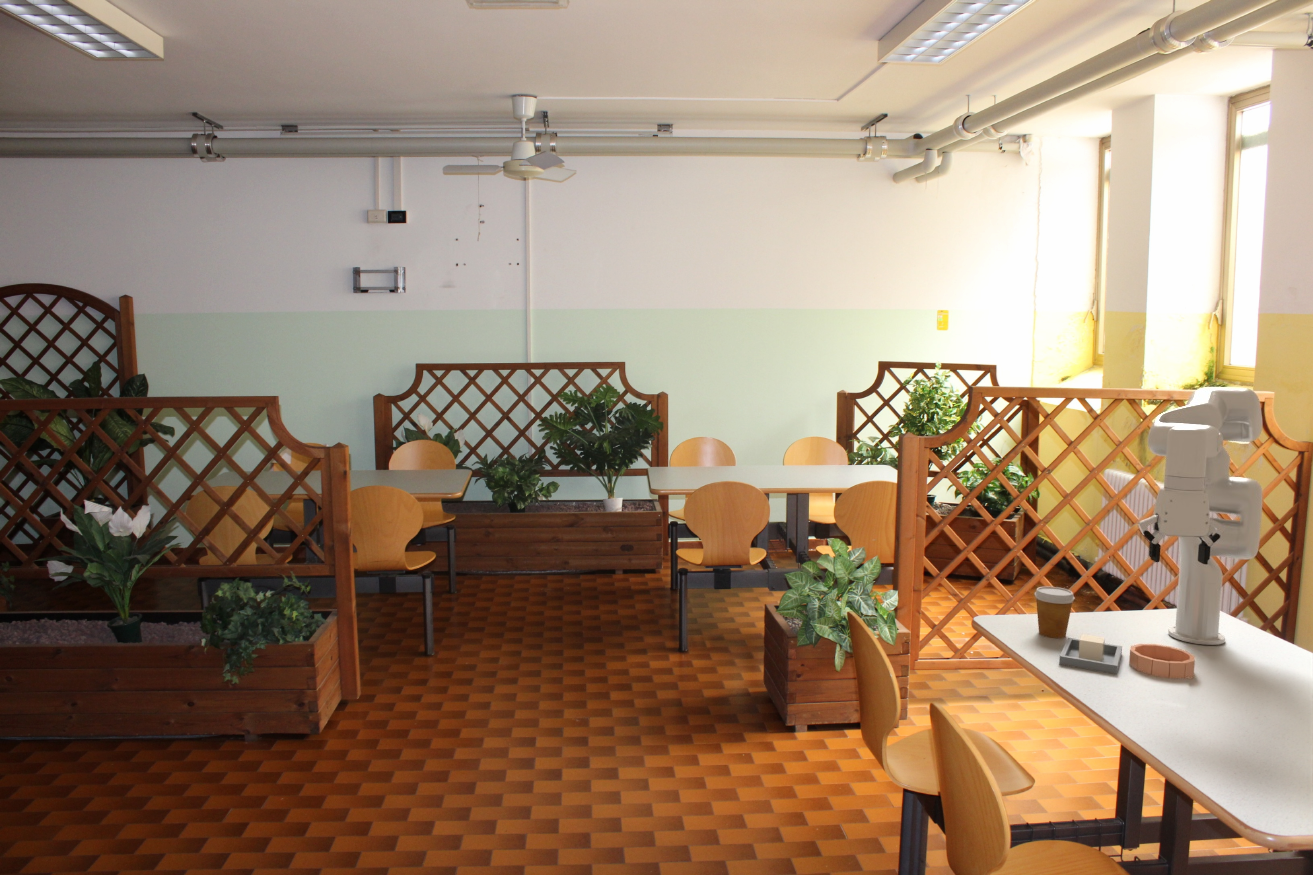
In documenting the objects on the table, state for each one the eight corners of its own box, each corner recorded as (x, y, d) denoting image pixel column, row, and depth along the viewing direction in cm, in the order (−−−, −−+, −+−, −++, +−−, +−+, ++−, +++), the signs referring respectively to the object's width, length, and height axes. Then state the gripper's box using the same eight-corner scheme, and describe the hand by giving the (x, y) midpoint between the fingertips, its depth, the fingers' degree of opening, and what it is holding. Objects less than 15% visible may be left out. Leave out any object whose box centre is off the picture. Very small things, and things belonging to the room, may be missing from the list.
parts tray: (1067, 647, 222) (1068, 637, 222) (1121, 656, 216) (1122, 646, 216) (1059, 666, 209) (1059, 655, 208) (1116, 676, 202) (1117, 665, 202)
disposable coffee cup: (1074, 634, 232) (1077, 589, 231) (1069, 644, 224) (1072, 598, 223) (1035, 628, 237) (1038, 584, 236) (1029, 637, 229) (1031, 592, 228)
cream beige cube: (1080, 654, 216) (1081, 634, 215) (1103, 657, 213) (1104, 637, 213) (1078, 660, 211) (1079, 639, 211) (1101, 664, 209) (1103, 643, 208)
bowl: (1131, 656, 216) (1132, 640, 215) (1193, 666, 209) (1194, 650, 209) (1127, 672, 205) (1128, 655, 204) (1193, 684, 198) (1194, 666, 198)
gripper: (1219, 483, 195) (1213, 560, 196) (1134, 480, 197) (1129, 556, 199) (1236, 488, 187) (1230, 567, 189) (1148, 485, 190) (1142, 564, 191)
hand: (1178, 561), depth 194 cm, fingers open, 9 cm apart
